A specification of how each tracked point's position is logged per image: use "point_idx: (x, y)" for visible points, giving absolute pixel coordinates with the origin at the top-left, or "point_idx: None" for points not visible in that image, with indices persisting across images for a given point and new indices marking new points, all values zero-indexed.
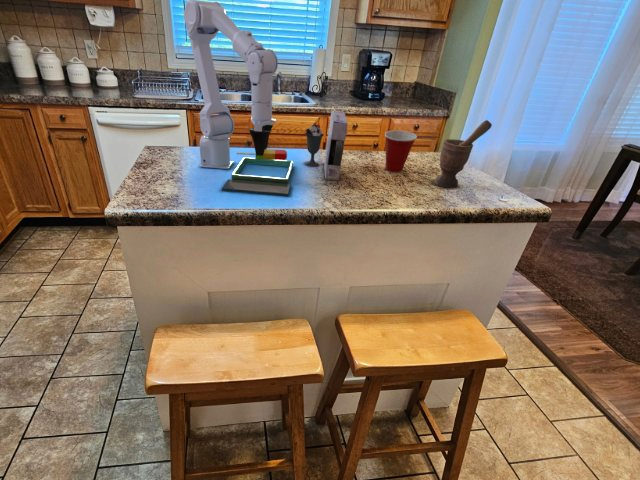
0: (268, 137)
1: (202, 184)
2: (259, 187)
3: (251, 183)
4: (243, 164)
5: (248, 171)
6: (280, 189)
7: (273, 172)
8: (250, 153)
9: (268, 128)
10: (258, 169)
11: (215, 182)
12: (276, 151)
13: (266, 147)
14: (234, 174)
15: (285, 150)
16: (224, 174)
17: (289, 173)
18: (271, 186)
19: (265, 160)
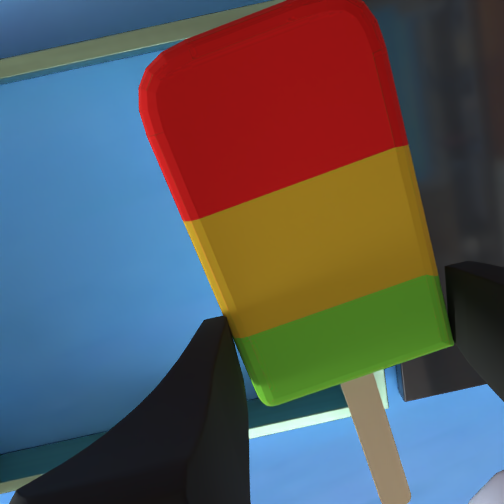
0: (211, 380)
1: (477, 478)
2: (498, 171)
3: (433, 251)
4: (46, 451)
5: (139, 375)
6: (499, 4)
7: (58, 215)
8: (368, 408)
9: (216, 501)
10: (55, 336)
11: (425, 442)
12: (294, 163)
13: (225, 325)
14: (380, 394)
15: (171, 62)
16: (271, 463)
17: (169, 23)
18: (451, 97)
19: None
